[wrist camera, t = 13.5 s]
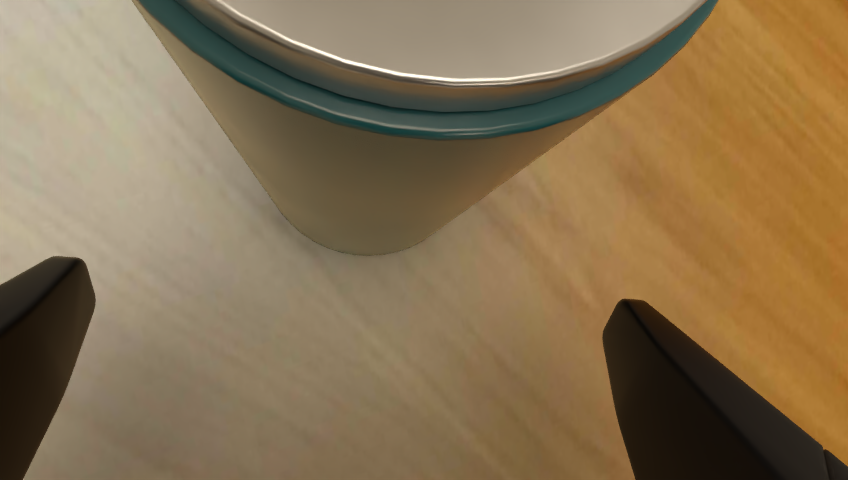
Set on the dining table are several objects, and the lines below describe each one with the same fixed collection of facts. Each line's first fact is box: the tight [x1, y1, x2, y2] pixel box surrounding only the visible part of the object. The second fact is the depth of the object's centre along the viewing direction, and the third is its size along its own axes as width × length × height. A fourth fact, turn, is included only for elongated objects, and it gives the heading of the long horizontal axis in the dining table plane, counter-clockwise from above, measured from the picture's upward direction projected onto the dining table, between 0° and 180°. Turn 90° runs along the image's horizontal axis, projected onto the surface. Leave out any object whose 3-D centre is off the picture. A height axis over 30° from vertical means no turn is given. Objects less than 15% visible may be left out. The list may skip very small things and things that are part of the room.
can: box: [132, 0, 718, 256], centre depth 11 cm, size 7×7×13 cm
